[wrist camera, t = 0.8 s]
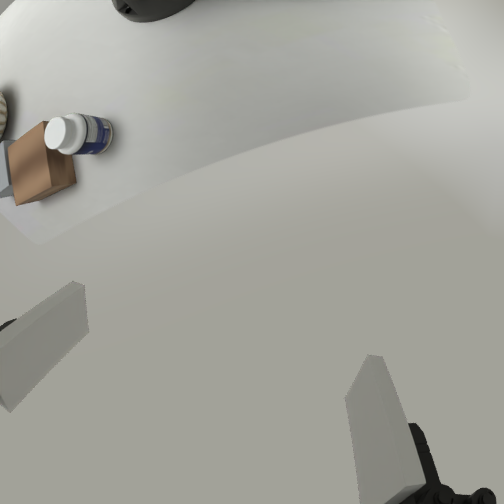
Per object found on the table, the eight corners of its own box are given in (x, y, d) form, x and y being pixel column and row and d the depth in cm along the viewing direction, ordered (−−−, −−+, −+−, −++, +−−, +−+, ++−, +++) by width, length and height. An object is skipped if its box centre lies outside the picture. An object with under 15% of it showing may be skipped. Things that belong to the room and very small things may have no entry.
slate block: (5, 157, 37) (-17, 159, 32) (27, 140, 36) (3, 140, 30) (11, 195, 39) (-11, 200, 34) (33, 181, 38) (8, 185, 32)
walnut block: (31, 146, 36) (7, 147, 31) (68, 123, 35) (42, 121, 29) (40, 200, 39) (16, 206, 33) (77, 182, 37) (51, 186, 31)
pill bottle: (85, 156, 36) (39, 157, 26) (86, 121, 34) (41, 115, 25) (113, 152, 35) (68, 152, 26) (115, 115, 34) (71, 106, 24)
